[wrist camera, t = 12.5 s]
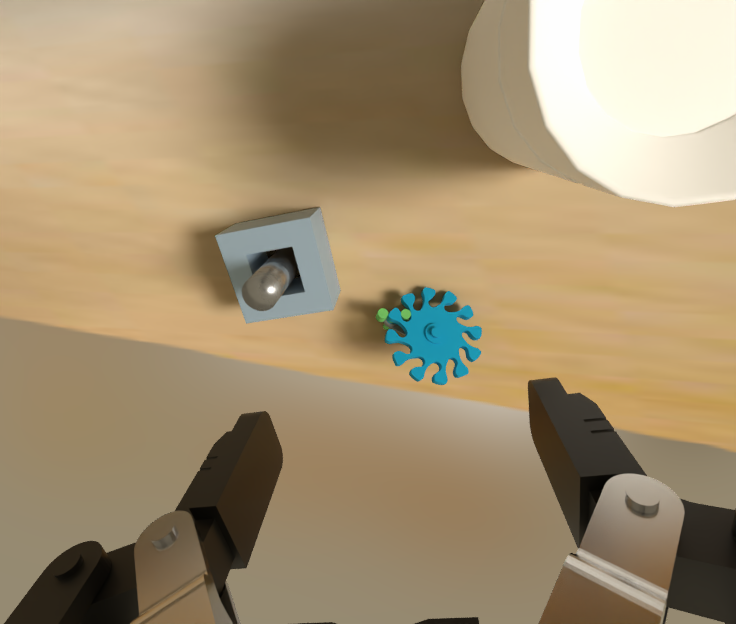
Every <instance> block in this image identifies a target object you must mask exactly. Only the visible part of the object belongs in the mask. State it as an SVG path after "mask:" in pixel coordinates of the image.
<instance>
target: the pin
mask: <svg viewBox="0 0 736 624" xmlns="http://www.w3.org/2000/svg"><path fill="white" fill-rule="evenodd" d="M298 272H299V269H298V265H297V262H296V258H295V254H294V251H293V247H287V248H281V249H278V250H277V251H276V252H275V253H274V254H273V255H272V256H271V257H270V258H269V259H268V260H267V261H266V262H265V263H264V264H263V265H262V266H261V267H260V268H259V269H258V270H257V271H256V272H255V273H254V274H253V275H252V276H251V277H250V278H249V279H248V280H247V281H246V282H245V283H244V285H243V287H242V297H243V299H244V301H245V303H246V304H247V305H248V306H249V307H251V308H252V309H254V310H257V311H267V310H269V309H271V308H273V307H274V305H275V304H276V303H277V301H278V300H279V299H280V297H281V296H282V294H283V293H284V291H285V290H286V289H287V287H288V286H289V284H290V283H291V282H292V280H293V279H294V277H295V276H296V275H297V273H298Z"/></svg>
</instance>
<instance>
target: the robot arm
mask: <svg viewBox="0 0 736 624" xmlns="http://www.w3.org/2000/svg"><path fill="white" fill-rule="evenodd" d="M528 398H529V418H530V428H531V434H532V438H533V441H534V444H535V447H536V449H537V452H538V454H539V456H540V459H541V461H542V463H543V466H544V468H545V471H546V473H547V475H548V478H549V480H550V483H551V485H552V487H553V490H554V492H555V495H556V497H557V499H558V502H559V504H560V506H561V509H562V511H563V514H564V516H565V518H566V521H567V523H568V525H569V528H570V530H571V533H572V535H573V537H574V540H575V542H576V545H577V547H578V551H577V553H576V554H573V553H570V554H569V555H568V557H567V558H566V560H565V562H564V565H563V567H562V569H561V572H560V574H559V576H558V579H557V581H556V583H555V586H554V588H553V590H552V593H551V595H550V598H549V600H548V602H547V605H546V607H545V609H544V612H543V614H542V616H541V619H540V621H539V624H666V621H667V616H668V611H669V608H673V609H677V610H680V611H684V612H688V613H692V614H695V615H699V616H702V617H707V618H710V619H714V620H717V621H721V622H725V624H736V510H731V509H725V508H719V507H714V506H708V505H702V504H697V503H692V502H689V501H686V500H682V499H680V498H679V497H678V496H677V495H676V493H674V491H672V490H671V489H670V488H669V487H668V486H666V485H664V484H663V483H661V482H659V481H657V480H655V479H653V478H650V477H648V476H647V475H646V474H645V472H644V471H643V470H642V468H641V467H640V465H639V464H638V462H637V461H636V460H635V458H634V457H633V455H632V454H631V453H630V451H629V450H628V448H627V447H626V445H625V444H624V443H623V441H622V440H621V438H620V437H619V435H618V434H617V433H616V432H614V428H613V427H612V425H611V424H610V423H609V421H608V420H606V417H605V416H604V414H603V413H602V411H601V410H600V408H599V407H598V406H597V404H596V403H594V402H593V401H591V400H590V399H588V398H587V397H585V396H584V395H582V394H581V393H575V394H567V393H566V391H565V390H564V388H563V386H562V385H561V383H560V382H559V380H558V379H557V378H556V377H555V378H547V379H538V380H530V381H529V382H528ZM282 463H283V454H282V448H281V445H280V443H279V440H278V437H277V434H276V432H275V429H274V426H273V424H272V421H271V418H270V416H269V414H268V413H267V412H266V411H264V412H256V413H255V412H254V413H246V414H242V415H241V416H240V417H239V419H238V421H237V423H236V424H235V426H234V428H233V430H232V431H230V432H226V433H225V434H224V435H223V436H222V437H221V438H220V439H219V440H218V441H217V442H216V443H215V444H214V446H213V447H212V449H211V450H210V452H209V454H208V456H207V459H206V460H205V461H204V462H203V464H202V466H201V468H200V471H198V472H197V474H196V476H195V478H194V479H193V481H192V483H191V484H190V486H189V488H188V489H187V491H186V493H185V494H184V496H183V498H182V500H181V501H180V503H179V505H178V506H177V508H176V510H175V511H174V512H170V513H167V514H165V515H163V516H161V517H159V518H158V519H157V520H155V521H154V522H152V523H151V524H150V525H149V526H148V527H147V528H146V529H145V530H144V531H143V532H142V533H141V535H140V536H139V538H138V539H137V542H136V543H133V544H130V545H127V546H125V547H122V548H119V549H116V550H114V551H111V552H109V553H106V552H105V550H104V549H103V547H102V546H101V545H100V544H99V543H98V542H96V541H87V542H83V543H80V544H78V545H75V546H73V547H71V548H70V549H68V550H66V551H65V552H63V553H62V554H61V555H59V556H58V557H57V558H56V559H55V560H54V561H53V562H51V563H50V564H49V566H48V567H47V568H46V569H45V570H44V571H43V573H42V574H41V575H40V577H39V578H38V579H37V581H36V582H35V583H34V585H33V586H32V587H31V589H30V590H29V591H28V593H27V594H26V595H25V597H24V598H23V599H22V601H21V602H20V603H19V605H18V606H17V607H16V609H15V610H14V611H13V612H12V614H11V615H10V617H9V618H8V619H7V621H6V622H5V623H4V624H241V623H240V620H239V617H238V614H237V611H236V608H235V604H234V602H233V598H232V595H231V592H230V589H229V586H228V584H227V582H226V579H227V576H228V573H229V571H230V569H241V568H246V567H247V565H248V562H249V559H250V556H251V553H252V551H253V548H254V545H255V542H256V539H257V537H258V533H259V530H260V528H261V525H262V522H263V519H264V517H265V514H266V511H267V508H268V505H269V502H270V500H271V497H272V494H273V491H274V488H275V485H276V482H277V479H278V477H279V474H280V471H281V468H282ZM300 624H301V623H300ZM302 624H336V623H332V622H329V623H302ZM415 624H479V620H478V617H472V618H446V619H445V618H444V619H427V620H424V621H421V622H419V623H415Z"/></svg>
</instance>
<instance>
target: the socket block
mask: <svg viewBox="0 0 736 624" xmlns="http://www.w3.org/2000/svg"><path fill="white" fill-rule="evenodd" d="M215 237H216V240H217V243H218V246H219V248H220V251H221V254H222V257H223V260H224V262H225V265H226V268H227V271H228V274H229V276H230V279H231V282H232V285H233V288H234V290H235V293H236V296H237V299H238V302H239V304H240V307H241V310H242V313H243V316H244V318H245V321H246V323H252V322H259V321H265V320H272V319H278V318H284V317H291V316H297V315H304V314H310V313H317V312H323V311H330V310H334V307H335V304H336V302H337V299H338V296H339V294H340V291H341V290H340V286H339V282H338V278H337V274H336V270H335V266H334V262H333V258H332V254H331V249H330V245H329V241H328V237H327V233H326V229H325V225H324V221H323V217H322V212H321V208H320V207H318V208H313V209H308V210H302V211H297V212H292V213H287V214H282V215H277V216H272V217H267V218H261V219H256V220H251V221H246V222H241V223H236V224H234V225H232V226H230V227H229V228H227V229H225V230H224V231H222V232H220V233H218V234H217V235H215ZM287 247H293V251H294V254H295V258H296V262H297V265H298V269H299V272H300V276H301V277H298V278H294V279H293V280H292V282H291V283H290V284H289V286H288V287H287V289H286V290H285V291H284V293H283V294H282V296H281V297H280V299H279V300H278V301H277V303H276V304H275V305H274V307H273V308H271V309H269V310H267V311H257V310H254V309H252V308H251V307H249V306H248V305H247V304H246V303H245V301H244V299H243V297H242V287H243V285H244V283H245V282H246V281H247V280H248V279H249V278H250V277H251V276H252V275H253V274H254V273H255V272H256V271H257V270H258V269H259V268H260V267H261V266H262V265H263V264H264V263H265V262H266V261H267V260H268V256H267V253H266V251H270V250H276V249H281V248H287Z"/></svg>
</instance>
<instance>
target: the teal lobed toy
mask: <svg viewBox="0 0 736 624" xmlns="http://www.w3.org/2000/svg"><path fill="white" fill-rule="evenodd" d="M434 295H435V290H434V289H431V288H426V287H425V288H424V289H423V290H422V292H421V296H422V300H423V304H422V308H421V310H420V311H417V310H415V309H414V308H413V303H414V301H415V296H414V294H413V293H410V294H406V295H404V296H402V298H401V303H402V304H403V305H404V306H405V307H406V309H404V310H402V312H400V310H399V309H398V308H394V309H393V310H392V311H387V310H386V309H384V308H381V309H380V310H379V311H378V313H377V315H376V319H377V321H379V322H383V323H384V325H383V328H384V329H385V330H388V331H387V333H386V335H385V343H387V344H392V343H401V344H403V345H406V346H408V347H409V348H410V354H405V353H403V352H401V351H397V352H395V353H394V354H393V355H392V358H393V361H394V363H395V365H396V366H400V365H402V364H403V363H404V362H405V361H406V360H408V359H413V358H419V359H421V360H422V362H423V365H422V367H415V368H413V369H412V370H411V371H410V372H409V375H410V376H411V377H412V378H413V379H414V380H415V381H417V382H418V381H420V380H421V379H423V377H424V373H425V370H426V369H427V367H428V366H429V365H430V364H432V363H436V364H437V365H438V366H439V371H438V372H437V373H436V374H434V375H433V377H432V382H433V383H435V384H438V385H444V384H446V383H447V375H446V364H447V362H448V359H451V360H453V361H454V363H455V367H454V369H453V375H454V377H455V378H459V377H462V376H464V375H466V374H468V368H467V367H466V366H465V365H464V364H463V363H462V361H461V359H460V356H459V348H462V349H464V350H465V353H466V358H467V359H468V360H469V361H470V362H473V361H475V360H476V359H477V358H478V357H479V356H480V354H481V351H480V350H479V349H478V348H475V347H472V346H470V345H469V344H468V343H467V342H466V341H465V340H464V339H463V337H462V333H463V332H464V333H466V334H467V335H468V336H469V337H470V339H472V340H478V339H479V338H480V337H481V332H482V330H481V327H479V326H474V327H466V326H463V325H461V324H459V323H458V322H457V320H456V318H457V317H460V318H462V319H464V320H468V319H470V318H471V317H472V316H473V311H472V309H471V307H470V306H468V305H467V306H464V307H463V308H462V309H461V310H460V311H457V312H447V311H446V310H445V309H444V306H447V305H452V304H453V303H454V302H455V301H456V300H457V298H456V296H455V295H454V294H453V293H451V292H450V291H448V292H446V293H445V295H444V296H443V297H442V302H441V304H440V305H438V306H437V307H431V306H430V305H429V303H428V301H430V300H431V299H432V298H433V297H434ZM408 319H409V320H408ZM389 328H391V329H389ZM396 331H397V332H399V333H401V334H403V335H405V337H400V336H399V335H398V334H397V333H396Z"/></svg>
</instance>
